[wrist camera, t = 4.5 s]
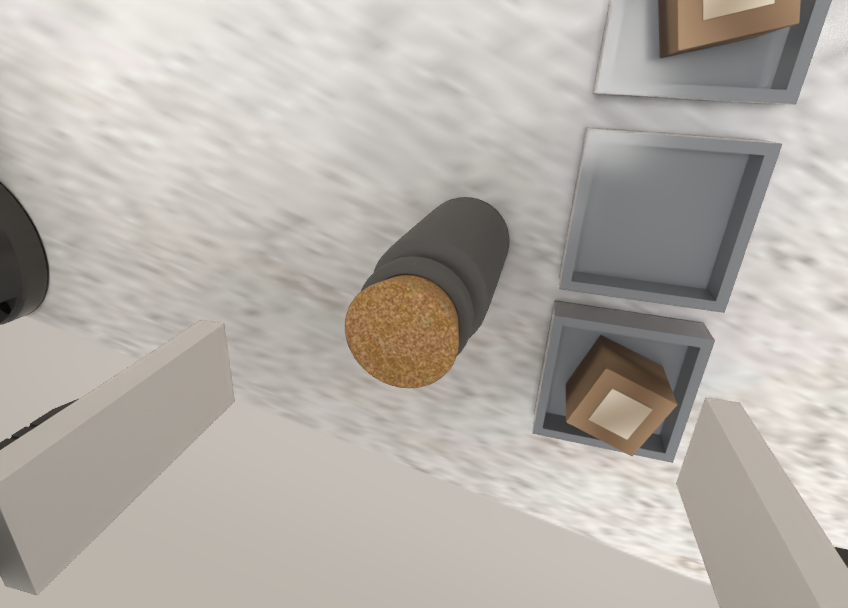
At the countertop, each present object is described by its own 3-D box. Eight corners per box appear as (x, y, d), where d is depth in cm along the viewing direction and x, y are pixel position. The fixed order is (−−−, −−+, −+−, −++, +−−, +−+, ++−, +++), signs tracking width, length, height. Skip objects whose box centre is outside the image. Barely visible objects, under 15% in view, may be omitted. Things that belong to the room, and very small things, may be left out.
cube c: (565, 384, 34) (566, 423, 30) (600, 334, 32) (606, 369, 28) (623, 413, 33) (632, 457, 29) (662, 366, 31) (678, 405, 27)
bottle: (518, 272, 32) (488, 394, 19) (436, 287, 34) (356, 406, 21) (499, 186, 30) (451, 253, 17) (414, 207, 32) (310, 281, 19)
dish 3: (534, 412, 36) (532, 433, 34) (554, 300, 32) (554, 315, 30) (665, 439, 34) (672, 462, 32) (703, 322, 30) (714, 340, 28)
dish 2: (559, 275, 31) (559, 289, 29) (586, 127, 28) (588, 129, 25) (712, 296, 29) (724, 312, 27) (763, 140, 26) (782, 143, 24)
